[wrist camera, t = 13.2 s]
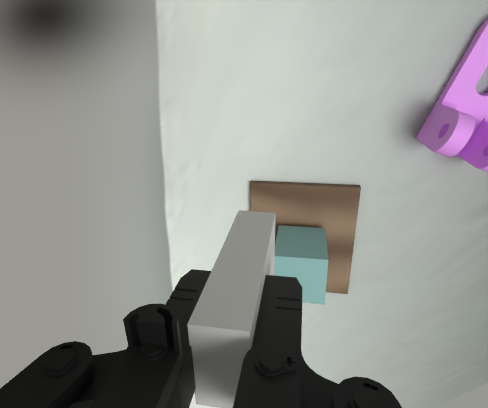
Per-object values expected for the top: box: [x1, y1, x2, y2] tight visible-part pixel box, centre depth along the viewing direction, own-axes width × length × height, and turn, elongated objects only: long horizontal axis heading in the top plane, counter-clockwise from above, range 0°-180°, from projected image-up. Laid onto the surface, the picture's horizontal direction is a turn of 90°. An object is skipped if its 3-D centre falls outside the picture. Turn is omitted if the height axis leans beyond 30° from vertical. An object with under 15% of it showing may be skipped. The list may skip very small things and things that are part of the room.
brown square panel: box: [250, 181, 361, 294], centre depth 38 cm, size 14×12×8 cm
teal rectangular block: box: [274, 225, 328, 304], centre depth 37 cm, size 5×5×7 cm
